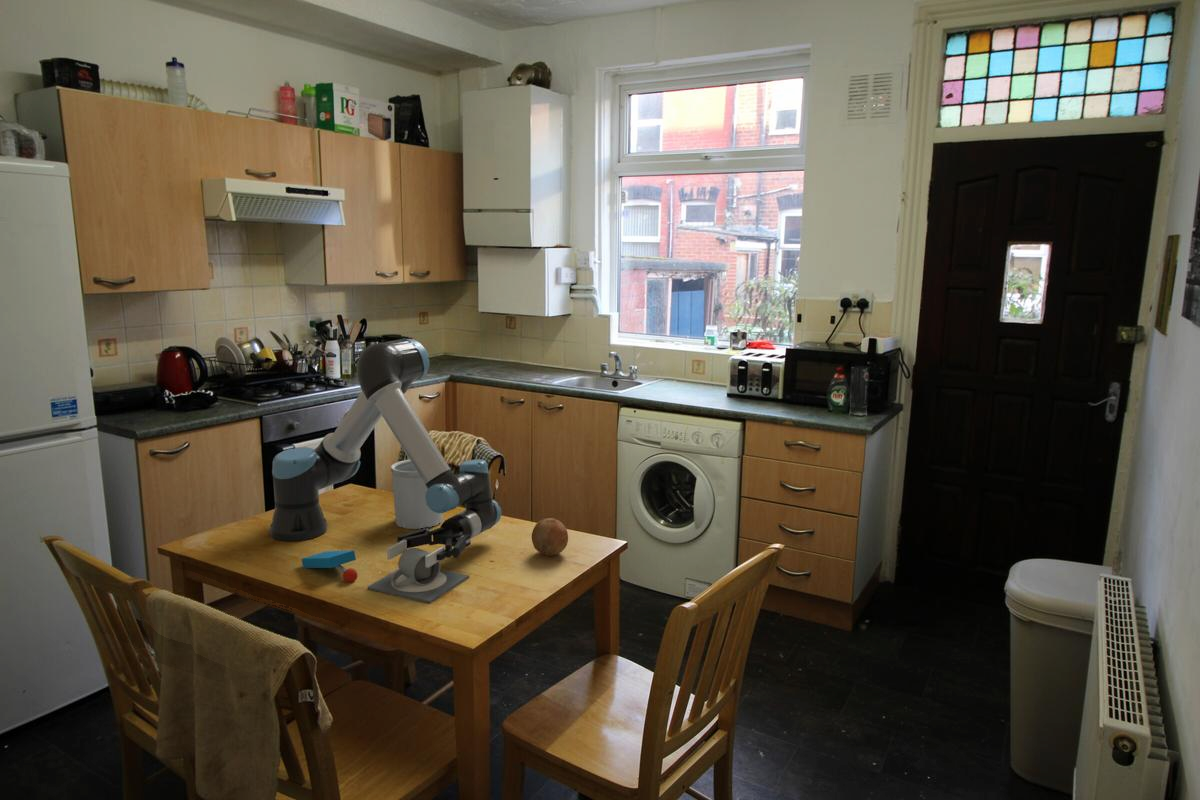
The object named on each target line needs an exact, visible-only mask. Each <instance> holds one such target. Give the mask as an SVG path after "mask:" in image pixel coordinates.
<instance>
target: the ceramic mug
mask: <svg viewBox="0 0 1200 800" xmlns="http://www.w3.org/2000/svg"><path fill="white" fill-rule="evenodd" d="M430 553H431V552H430V551H426V550H424V549H421V548H418V547H417V548H416V547H412V548H407V550H406V551H405V552H403V553H401V554H400V557H399V559H398V563H397V564H398V569H399V570H398V569H397V570H398V571H397V572H396V573H395V574H394V575H393V576H392V578H391V581H392V583H393V585H394V586H395V587H396V588H403V587H406V586H407V585H409V584H411V583H412V582H415V583H416V584H418V585H428V584H430V583H432V582H433V581H434V580H435V579H436V578H437V576H438V574H439V571H440V569H441V561H439V562H437V563H435V564H433V565H432V566H430V567H428V568H427V567H426V566H425V556H426V555H428V554H430ZM402 574H403V575H404V576H406V577H407V579H406V580H404V581H402V582H399V583H396V579H397V578H398V577H399V576H401V575H402Z"/></svg>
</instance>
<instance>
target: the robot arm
mask: <svg viewBox="0 0 1200 800" xmlns="http://www.w3.org/2000/svg"><path fill="white" fill-rule="evenodd" d="M429 369H430V359H429V354H428V351H427V349H426V348H425V347H424V346H423V345H422V343H421V342H419V341H417V340H416V339H412V338H401V339H396V340H390V341H383V342H376V343H373V344H370V345H368V346H367V347H366V348H364V350H362V352H361V353H360V354H359V356H358V359H357V362H356V377H357V381H358V384H359V386H360V389H361V391H360V393H359V395H358V396H357V398H356V399H355V401H354V402H353V403H352V404H351V406H350V408H349V410H348V411H347V412H346V414H345V415H344V417H343V419H342V420H341V421H340V423H339V424H338V426H337V427H336V429H335V431H334V432H330V433H328V434H326V435H325V436H324V437H323V439H322V440H321V441H320V443H319V445H318V446H317V447H316V448H312V447H308V446H307V447H306V446H300V447H295V448H288V449H286V450H283V451H281V452H279V453H277V454H276V455H275V456H274V457H273V458H272V459H273V460H272V469H271V473H272V482H273V484H272V485H273V495H274V511H273V515H272V520H271V521H272V522H271V524H270V526H269V535H270V538H272V539H274V540H277V541H284V542H297V541H305V540H310V539H314V538H316V537H319V536H322V535H323V534H325V533H326V532H327V530H328V523H327V519H326V518H325V516H324V512H323V510H322V508H321V505H320V500H319V499H320V498H319V497H320V495H319V494H320V493H319V491H320V490H322V489H325V488H328V487H330V486H332V485H335V484H338V483H343V482H345V481H347V480H349V479H350V478H352V477H354V476H355V475H356V473H358V470H359V469H360V466H361V461H360V459H361V455H362V454H361V453H362V452H361V447H362V446H363V445H364V443H365V441H366V440H367V439H368V438H369V436H370V434H371V433H372V431H373V430H374V428H376V426H377V424H378V423H379V422H380V420H381V418H382V417H383V419H384V421H385V422H386V424H387V426H388V427H389V429H390V431H391V433H392V434H393V435H394V437H395V439H396V440H397V442H398V444H399V446H401V448H402V450H403V451H404V453H405V455H406V456H407V459H408V460H410V461H411V463H412V464H413V466H414V467H415V469H416V471H417V472H418V474H419V475H420V477H421V479H422V480H423V482H424V483H425V485H426V487H427V489H428V490H427V492H426V495H425V498H426V503H427V506H428V507H429V508H430V509H431V510H432V511H434V512H436V513H443V514H445V513H447V512H449V511H453V510H455V509H457V507H459V506H461V505H464V506H465V507H464V508H465V509H463V510H462V511H460V512H458V513H457V514H454V515H453V516H450V517H449V518H447V519H445V520H444V521H442V522H441V525H440V527H437V528H435V529H430V527H424V528H423V529H416V530H414V531H412V532H409V533H405V534H402V535H397V537H396V539H397V542H396V543H394V544H393V545H390V546H389V547H388V548H387V547H386V556H387V557H386V558H387V559H386V560H392V559H395V558H396V557H397V556H399V555H400V556H401V555H402V554H403V552H405V551H406V550H407V549H410V548H416V547H417V548H418V547H421V546H425V545H428V546H436V545H443V546H441V547H439V548H437V549H436V550H433V551H432V552H429V553H430V554H428V555H426V556H425V566H426V567H427V568H428V567H430V566H432V565H433V564H435V563H437V562H439V561H440V562H441V561H443V560H445V559H448V558H451V557H453V558H454V559H458V558H460V556H461V555H462V553H463V552H464V550H465V549H467V547H469V546H470V545H471V541H472V539H473V538H474V537H477V536H478V535H480V534H481V533H483V532H485V531H487V530H490V529H492V528H493V526H495V525H497V524H498V523H499V522H500V520H501V518H502V509H501V507H500V505H499V503H498V502H497V501H495V500H494V499H493V495H492V487H491V486H492V485H491V480H490V478H491V477H490V472H489V467H488V463H487V461H486V460H484V459H470V460H465V461H463V462H461V463H460V465H459V473H458V474H456V475H455V474H454V472H453V471H452V468H451V467H450V466H449V464H448V463H447V460H445V458H444V456H443V454H442V453H441V452H440V449H439V448H438V447H437V445H436V444H435V442H434V441H433V438H432V437H431V436H430V434H429V432H428V431H427V429H426V427H425V426H424V424H423V422H422V421H421V418H420V417H419V416H418V415H417V413H416V412H415V411H416V410H415V409H414V408H413V407H412V405H411V404H410V401H409V400H408V399H407V397H406V395H405V394H406V393H407V391H408V389H410V387H411V386H412V384H413V383H414V381H417V380H418V381H419V380H421V379H422V378H423V377H425V376H426V375H427V374H428V372H429ZM444 546H445V547H444Z"/></svg>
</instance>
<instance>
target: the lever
mask: <svg viewBox="0 0 1200 800" xmlns="http://www.w3.org/2000/svg"><path fill="white" fill-rule="evenodd" d="M356 560H357V558H356V554H355V550H353V549H351V550H326V551H322V552H318V553H315V554H312V555H309V556H308V555H307V556H306V557H302V558H301V564H302V567H303V566H304V567H303V568H305V569H319V568H320V569H327V568H328V569H332V568H334V567H335V568H336V569H337V570H338V571H339V572H340V573H342V579H343V580H344V581H345V582H346V583H353V581H354V582H356V580H357V579H358V572H357V570H356V569H354V568H350V567H349V568H345V567H344V566H343V565H344V564H348V563H351V562H354V561H356Z"/></svg>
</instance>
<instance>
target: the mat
mask: <svg viewBox="0 0 1200 800" xmlns="http://www.w3.org/2000/svg"><path fill="white" fill-rule="evenodd" d="M398 570H399V568H398V569H396V570H395V571H393V572H391V573H389V574H387V575H385V576H384V577H382V578H380V579H378V580H376V581H374V583H371V584H370V585H367V590H369V591H374V590H375V592H378V591H379V592H378V593H384V594H387V595H392V596H396V597H401V598H404V599H410V600H415V601H419V602H423V603H427V604H431V603H433V602H435V601H436V600H438V599H439V598H441V597H442V596H444V595H445V594H446V593H448V592H450V591H451V590H452V589H454V588H455V587H457V586H459V585H460V584H461V583H463V582H465V581H466V580H468V579H469V578H470V575H469V574H465V573H462V572H461V573H460V572H456V571H450V570H445V569H441V568H440V571H439V574H438V576H437V578H436V579H435V580H434V581H433V582H432V583H430V584H428V585H418V584H416V583H415V582H412V583H411V584H409V585H407V586H406V587H403V588H396V587H395V586H394V585H393V583H392V581H391V578H392V576H393V575H394V574H395V573H396V572H397V571H398ZM406 579H407V577H406V576H404V575H403V574H402V575H401V576H399V577H398V578H397V579H396V583H399V582H402V581H404V580H406Z"/></svg>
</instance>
